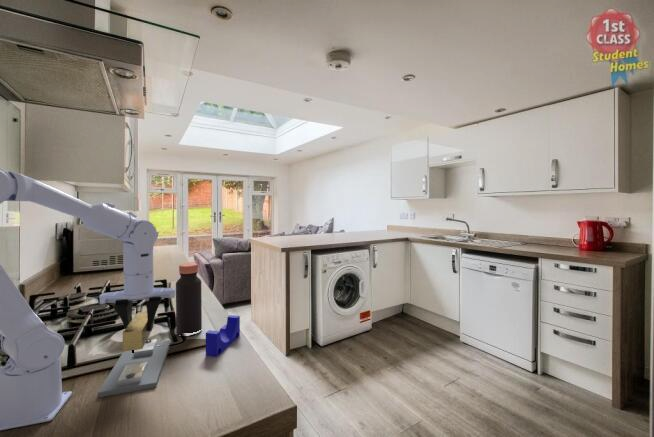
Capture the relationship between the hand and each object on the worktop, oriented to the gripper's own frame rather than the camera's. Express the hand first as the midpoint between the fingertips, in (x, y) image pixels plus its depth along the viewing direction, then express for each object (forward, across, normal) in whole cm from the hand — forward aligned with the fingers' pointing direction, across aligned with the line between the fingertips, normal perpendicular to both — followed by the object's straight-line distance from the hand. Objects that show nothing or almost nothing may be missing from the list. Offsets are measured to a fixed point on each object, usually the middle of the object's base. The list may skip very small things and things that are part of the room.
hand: (139, 330), depth 68 cm
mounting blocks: (+8, 0, 0) cm, 8 cm away
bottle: (+9, -9, -16) cm, 20 cm away
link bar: (+2, 0, 0) cm, 2 cm away
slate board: (+8, 0, 0) cm, 8 cm away
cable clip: (+9, -18, -5) cm, 20 cm away
